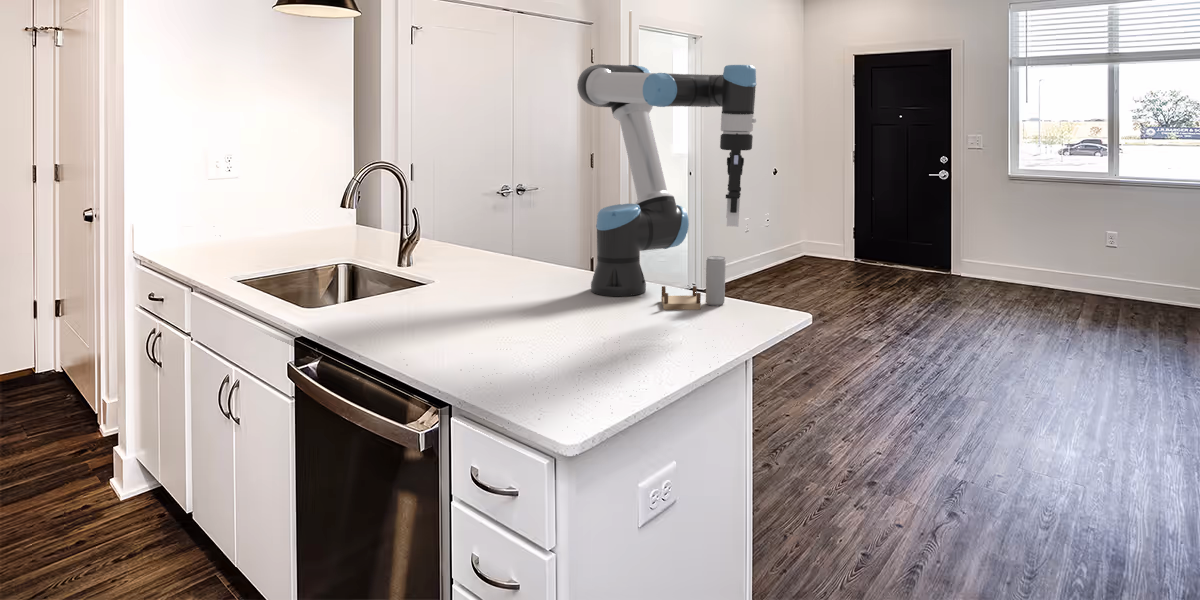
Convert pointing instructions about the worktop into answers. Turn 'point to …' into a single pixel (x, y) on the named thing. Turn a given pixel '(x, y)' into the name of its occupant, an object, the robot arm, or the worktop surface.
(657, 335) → the worktop surface
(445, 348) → the worktop surface
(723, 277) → the beverage can
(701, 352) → the worktop surface
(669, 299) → the stand
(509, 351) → the worktop surface
